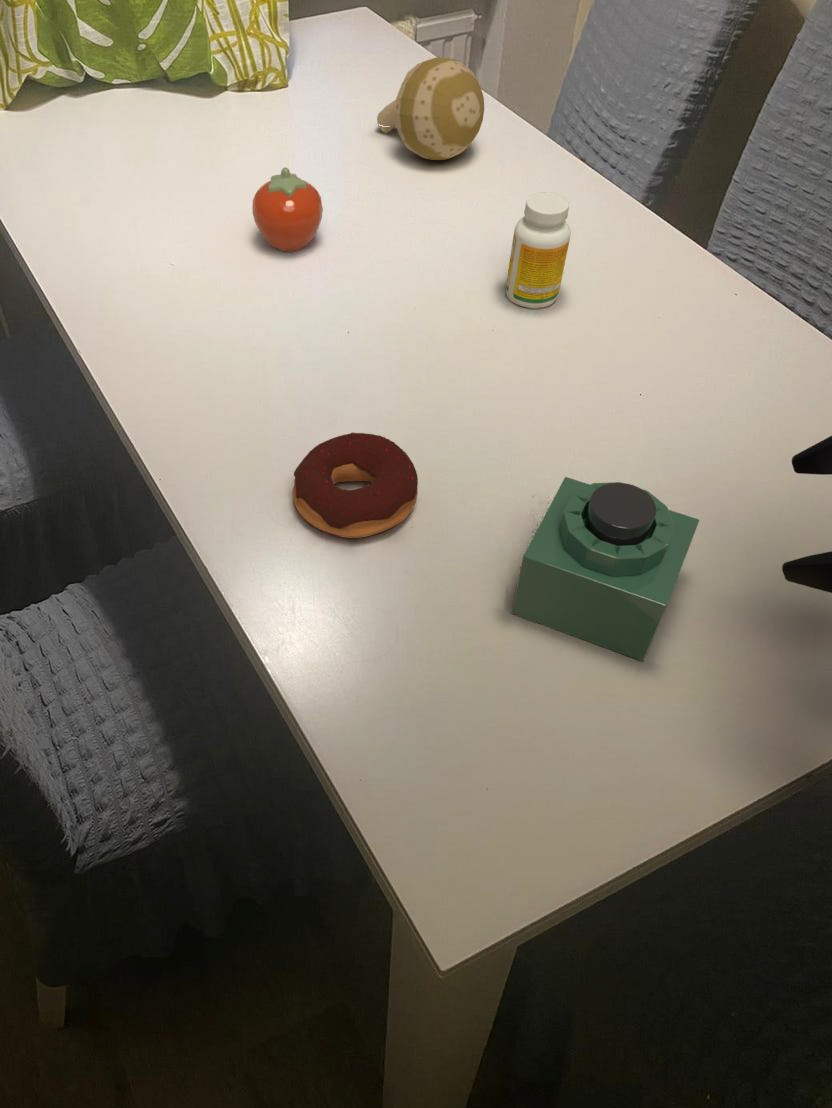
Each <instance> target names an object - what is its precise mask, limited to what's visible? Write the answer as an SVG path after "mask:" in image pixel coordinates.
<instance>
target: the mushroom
mask: <svg viewBox="0 0 832 1108" xmlns="http://www.w3.org/2000/svg"><path fill="white" fill-rule="evenodd" d="M481 86H482V85H481V84H480V81H479V80H478V78H477V77H476V75H475V73H474V72H473V71H472V70H471V69H470V68H469V67H467V65H466V64H465V65H464V63H462V62H461V61H459V60H457V59H453V58H449V57H441V56H440V57H438V56H437V57H433V58H430V59H427V60H424V61H421V62H419V63H417V64H416V65H415V66H413V67H412V68H411V69H409V70H408V71H407V73H406V75H405V76H404V78H403V81H402V82H401V85H400V87H399V89H398V92H397V95H396V98H395V99H394V100H393V101H391V102H390V103H388V104H387V105H385V106H384V107H383V108H382V109H381V110H380V111H379V112H378V114H377V116H376V123H377V126H378V128H379V129H380V130H381V132H383V133H390V132H391V131H393V129H395V128H396V130H397V133H398V135H399V138H400V140H401V141H402V143H403V144H404V146H405V147H406V149H408V150H409V151H411V152H412V153H414V154H416V155H417V156H419V157H421V158H423V159H425V160H429V161H430V160H431V161H432V160H433V161H444V160H445V161H446V160H449V159H451V158H453V157H455V156H458V155H460V154H462V153H463V152H464V151H465V150H466V149H467V148H469V146H471V144H472V143H473V142H474V140H475V139H476V137H477V135H478V134H479V132H480V130H481V127H482V124H483V120H484V113H485V98H484V94H483V89H482V87H481ZM378 124H380V125H383V126H390V127H382V126H379V125H378ZM394 126H395V127H394ZM425 157H426V158H425Z"/></svg>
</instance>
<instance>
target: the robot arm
mask: <svg viewBox="0 0 832 1108" xmlns="http://www.w3.org/2000/svg"><path fill="white" fill-rule="evenodd" d="M791 466H792V469H793V471H794V473H795V474H799V475H800V474H801V475H823V476H825V475H830V476H831V475H832V435H830V436H828V437H826V438H824V439H823V440H821V441H818V442H817V443H815V444H813V445H812V446H809V447H807V448H806V449H804V450H802V451H800V452H798V453H796V454H795V455H793V456H792V457H791ZM781 571H782V574H783V576H784V579H785V580H786V581H787V582H789V583H794V584H797V585H800V586H804V587H808V588H811V589H815V590H819V591H823V592H826V593H830V594H832V550H831V551H826V552H820V553H816V554H815V553H814V554H811V555H805V556H803V557H800V558H796V559H793V560H790V561H786V562H784V563H782V565H781Z"/></svg>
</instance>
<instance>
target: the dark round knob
mask: <svg viewBox="0 0 832 1108" xmlns="http://www.w3.org/2000/svg"><path fill="white" fill-rule="evenodd" d="M608 483H609V482H608ZM642 489H643V488H641V487H638V486H637V485H634V484H631V483H626V482H622V483H621V482H620V483H609V484H605V485H603V486H601V487H599V488H597V489H596V490H595V491H594V492H593V494H592V495H591V498H590V502H589V505H588V509H587V513H586V517H585V522H586V526H587V528H588V530H589V531H590V532H591V533H592V534H593V535H594V536H595V537H597V538H598V539H599V540H602V541H605V542H608V543H611V544H614V545H617V546H624V545H635V544H638V543H640V542H642V541H643V540H644V539H645V538H646V537H647V536H648V534H649V532H650V529H651V526H652V524H653V521H654V518H655V515H656V504H655V502H654V500H653V498H652V497H651V496H650V495H649V494H648V493H647V492H645V491H644V490H645V489H644V490H642Z"/></svg>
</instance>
